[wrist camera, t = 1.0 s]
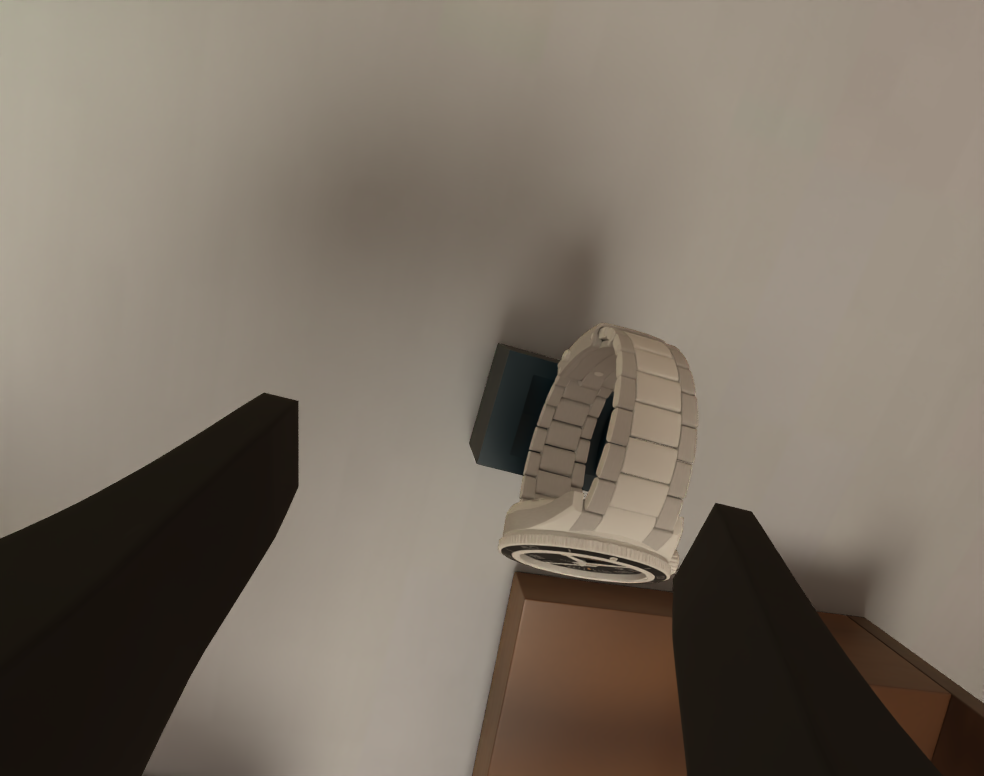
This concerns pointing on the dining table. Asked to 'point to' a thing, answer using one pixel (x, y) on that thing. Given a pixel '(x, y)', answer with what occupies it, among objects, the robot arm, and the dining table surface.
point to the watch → (593, 453)
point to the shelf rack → (664, 686)
